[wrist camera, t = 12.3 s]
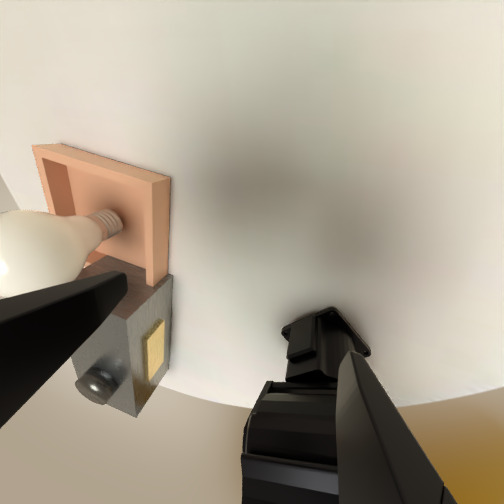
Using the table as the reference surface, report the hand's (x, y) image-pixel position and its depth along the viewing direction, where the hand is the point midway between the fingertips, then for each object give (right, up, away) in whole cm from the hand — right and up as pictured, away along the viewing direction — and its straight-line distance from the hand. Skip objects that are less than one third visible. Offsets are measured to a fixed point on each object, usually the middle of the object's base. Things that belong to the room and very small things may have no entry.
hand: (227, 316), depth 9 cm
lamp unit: (-14, -6, +22) cm, 26 cm away
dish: (-13, +6, +15) cm, 21 cm away
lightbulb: (-13, +6, +15) cm, 20 cm away
